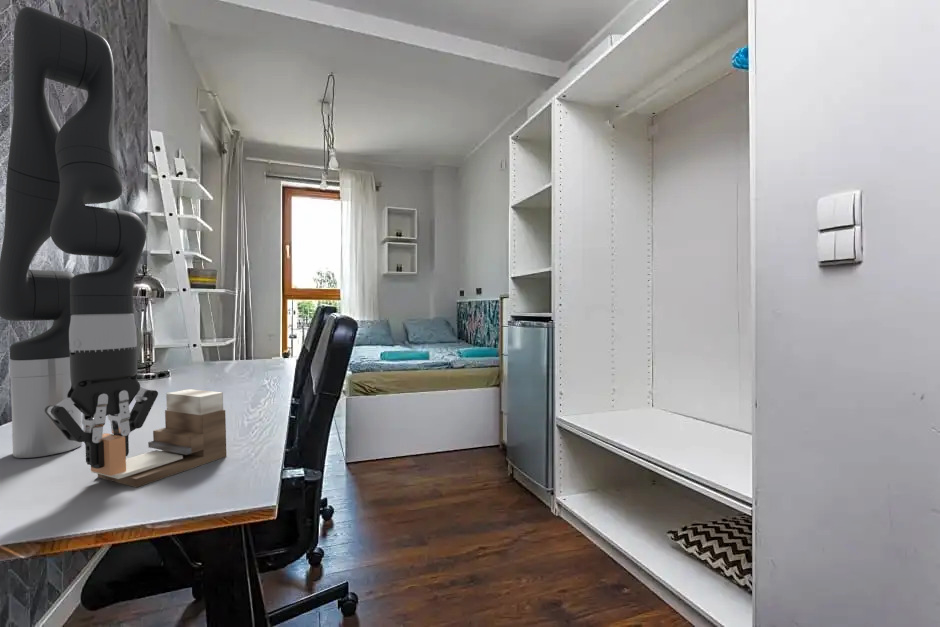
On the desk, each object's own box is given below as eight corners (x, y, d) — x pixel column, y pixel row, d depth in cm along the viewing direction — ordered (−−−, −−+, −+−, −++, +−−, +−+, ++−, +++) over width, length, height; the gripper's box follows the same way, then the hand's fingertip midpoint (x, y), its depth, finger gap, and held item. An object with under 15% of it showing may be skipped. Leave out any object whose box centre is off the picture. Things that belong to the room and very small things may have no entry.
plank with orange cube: (87, 473, 65) (86, 436, 64) (156, 453, 73) (155, 420, 73) (114, 480, 62) (113, 441, 62) (182, 458, 70) (181, 424, 70)
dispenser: (97, 477, 67) (95, 405, 67) (189, 449, 80) (187, 389, 80) (136, 487, 63) (134, 410, 63) (226, 456, 76) (224, 392, 75)
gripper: (141, 341, 72) (144, 447, 72) (28, 349, 59) (32, 477, 59) (169, 342, 68) (173, 452, 69) (57, 351, 56) (61, 486, 56)
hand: (108, 463), depth 64 cm, fingers closed on plank with orange cube, 2 cm apart
